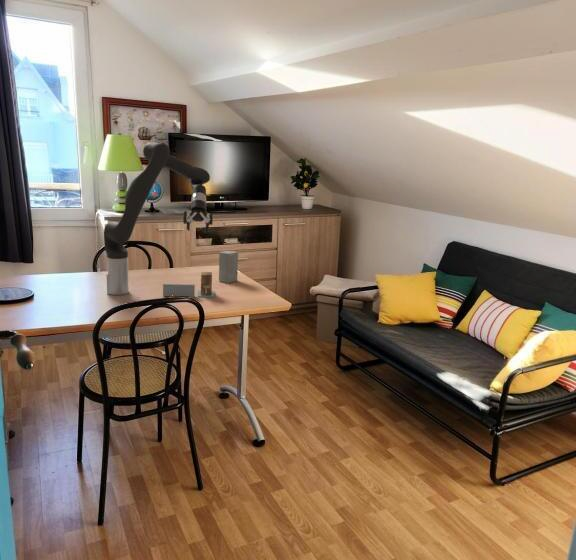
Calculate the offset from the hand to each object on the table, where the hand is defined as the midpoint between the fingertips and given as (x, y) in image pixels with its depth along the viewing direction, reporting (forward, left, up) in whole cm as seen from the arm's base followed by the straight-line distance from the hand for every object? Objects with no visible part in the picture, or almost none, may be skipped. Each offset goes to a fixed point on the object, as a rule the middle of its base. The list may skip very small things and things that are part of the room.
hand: (197, 230), depth 256 cm
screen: (-8, -17, -29) cm, 34 cm away
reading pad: (+5, -14, -29) cm, 32 cm away
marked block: (+5, -14, -28) cm, 32 cm away
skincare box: (+16, +11, -29) cm, 35 cm away
